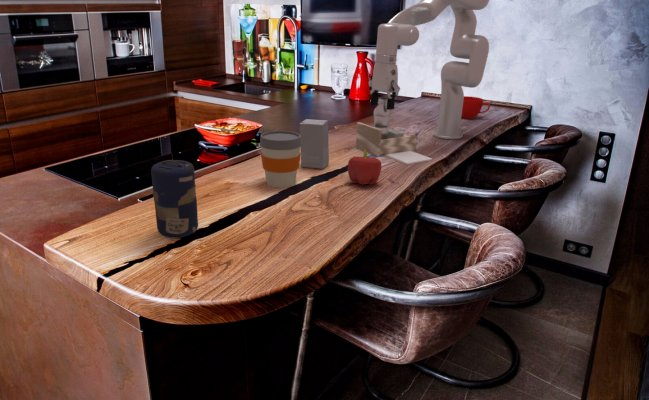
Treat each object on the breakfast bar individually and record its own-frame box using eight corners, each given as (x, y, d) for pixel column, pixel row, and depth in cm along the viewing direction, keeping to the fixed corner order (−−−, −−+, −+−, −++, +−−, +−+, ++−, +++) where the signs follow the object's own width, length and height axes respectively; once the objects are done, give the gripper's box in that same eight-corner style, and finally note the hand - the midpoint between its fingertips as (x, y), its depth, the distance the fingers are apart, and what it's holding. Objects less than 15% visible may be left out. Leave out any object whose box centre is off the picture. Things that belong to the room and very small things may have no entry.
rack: (393, 142, 203) (395, 118, 199) (416, 150, 192) (418, 125, 188) (355, 147, 194) (357, 122, 190) (377, 156, 183) (379, 130, 179)
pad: (410, 152, 189) (410, 150, 189) (432, 160, 180) (432, 158, 180) (385, 156, 183) (385, 154, 183) (407, 164, 174) (407, 163, 174)
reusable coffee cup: (285, 192, 145) (285, 143, 139) (252, 184, 151) (250, 136, 145) (309, 181, 155) (309, 134, 149) (277, 173, 161) (276, 128, 155)
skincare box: (328, 164, 172) (330, 119, 166) (322, 170, 165) (323, 124, 160) (306, 161, 174) (306, 117, 168) (298, 167, 168) (299, 121, 162)
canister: (181, 220, 124) (175, 152, 118) (207, 230, 119) (202, 159, 113) (149, 233, 117) (140, 161, 110) (175, 244, 112) (168, 169, 105)
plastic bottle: (387, 152, 188) (391, 100, 180) (370, 151, 189) (373, 99, 182) (389, 148, 194) (393, 97, 186) (372, 147, 195) (375, 96, 188)
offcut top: (392, 134, 197) (392, 128, 196) (403, 139, 191) (403, 133, 190) (383, 135, 195) (384, 129, 194) (394, 140, 189) (395, 134, 188)
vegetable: (347, 176, 160) (348, 146, 157) (378, 177, 160) (380, 147, 156) (347, 188, 150) (348, 156, 146) (381, 189, 150) (383, 157, 146)
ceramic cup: (484, 123, 242) (486, 102, 239) (450, 118, 251) (453, 98, 247) (491, 118, 253) (494, 99, 249) (459, 114, 261) (461, 95, 257)
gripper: (409, 62, 174) (404, 110, 180) (379, 57, 188) (375, 102, 194) (393, 62, 170) (388, 111, 176) (363, 57, 184) (360, 103, 190)
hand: (381, 107), depth 185 cm, fingers open, 9 cm apart
